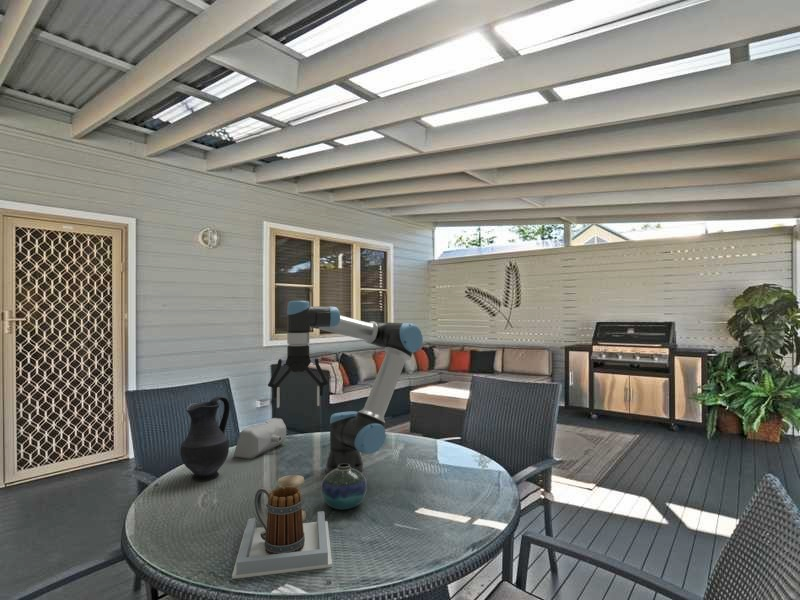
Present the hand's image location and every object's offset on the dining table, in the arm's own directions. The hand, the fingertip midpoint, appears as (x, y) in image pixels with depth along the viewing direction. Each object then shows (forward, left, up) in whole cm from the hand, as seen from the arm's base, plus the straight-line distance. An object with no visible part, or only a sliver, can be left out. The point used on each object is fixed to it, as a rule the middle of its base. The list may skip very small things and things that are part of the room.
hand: (298, 406), depth 158 cm
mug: (+5, +33, -31) cm, 45 cm away
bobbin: (+2, +15, -32) cm, 35 cm away
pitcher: (+35, -30, -32) cm, 56 cm away
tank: (+16, -57, -32) cm, 68 cm away
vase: (-15, +9, -32) cm, 36 cm away
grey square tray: (+3, +33, -32) cm, 46 cm away
